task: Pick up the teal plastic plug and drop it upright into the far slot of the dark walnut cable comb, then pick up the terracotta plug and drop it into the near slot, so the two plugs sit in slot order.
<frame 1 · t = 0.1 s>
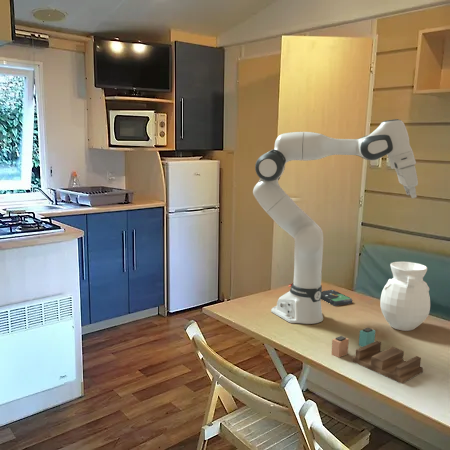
hand: (411, 196, 177), 52 cm above the table, tool tilted 20°, fingers open, 8 cm apart
cable comb: (386, 366, 152), on the table
terracotta plug: (339, 354, 160), on the table
disk drive: (333, 301, 217), on the table
pitcher: (402, 326, 186), on the table
teal plug: (366, 345, 168), on the table
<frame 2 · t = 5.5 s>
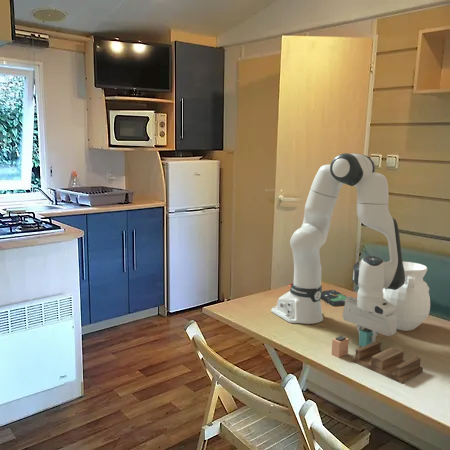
hand: (367, 339, 168), 2 cm above the table, tool pointing down, fingers closed on teal plug, 3 cm apart
teal plug: (366, 344, 168), on the table, touching gripper
everything else where it was.
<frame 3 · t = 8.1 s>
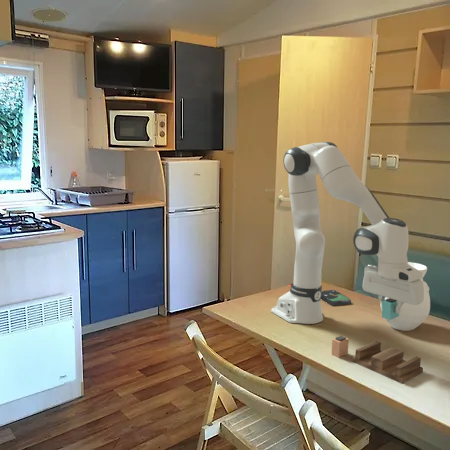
hand: (390, 310, 152), 18 cm above the table, tool pointing down, fingers closed on teal plug, 3 cm apart
teal plug: (390, 316, 152), point 16 cm above the table, touching gripper
everything else where it was.
when the fingers open (6 cm above the table, at t = 11.0 s): teal plug drops 2 cm, resting on cable comb.
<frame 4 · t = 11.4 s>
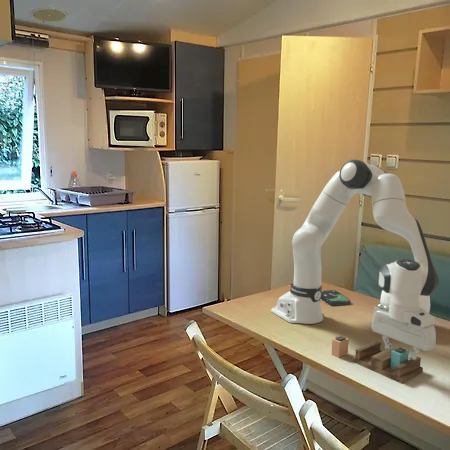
hand: (400, 353, 148), 6 cm above the table, tool pointing down, fingers open, 7 cm apart
teal plug: (398, 367, 149), point 1 cm above the table, touching cable comb
everything else where it was.
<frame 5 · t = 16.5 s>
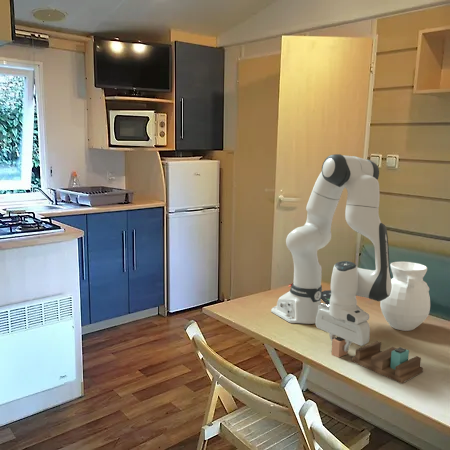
hand: (340, 348, 160), 2 cm above the table, tool pointing down, fingers closed on terracotta plug, 3 cm apart
terracotta plug: (339, 354, 160), on the table, touching gripper
everything else where it was.
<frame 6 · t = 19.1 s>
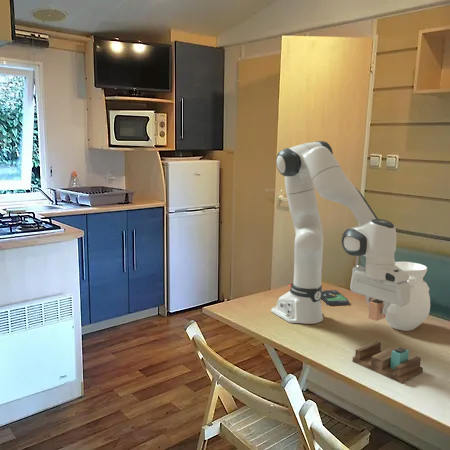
hand: (377, 311, 152), 18 cm above the table, tool pointing down, fingers closed on terracotta plug, 3 cm apart
terracotta plug: (377, 317, 152), point 15 cm above the table, touching gripper
when the fingers open (6 cm above the table, at t = 21.5 s): terracotta plug drops 3 cm, resting on cable comb.
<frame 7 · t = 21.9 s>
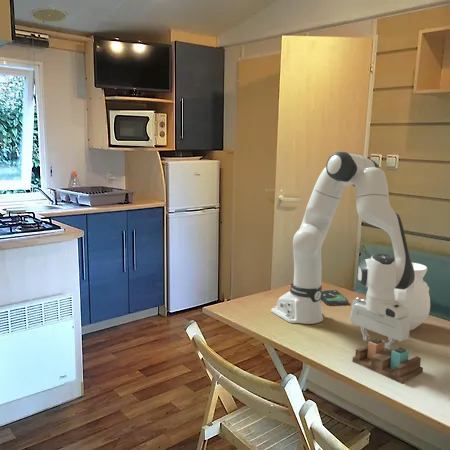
hand: (376, 344, 154), 6 cm above the table, tool pointing down, fingers open, 7 cm apart
terracotta plug: (375, 357, 155), point 1 cm above the table, touching cable comb
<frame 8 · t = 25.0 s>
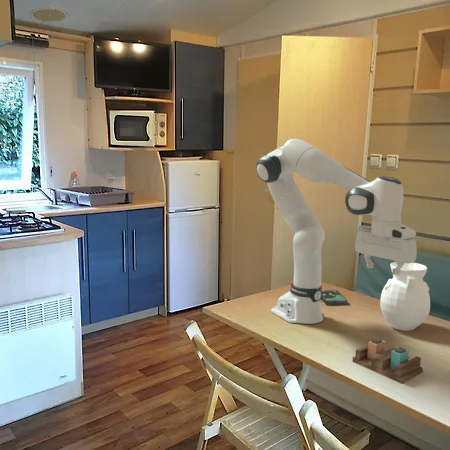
hand: (382, 271, 150), 31 cm above the table, tool pointing down, fingers open, 8 cm apart
at the end: teal plug inside the target area on the cable comb (0.1 cm from its centre), point 1.5 cm above the cable comb's base; terracotta plug inside the target area on the cable comb (0.2 cm from its centre), point 1.5 cm above the cable comb's base; teal plug tilted 0° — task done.
